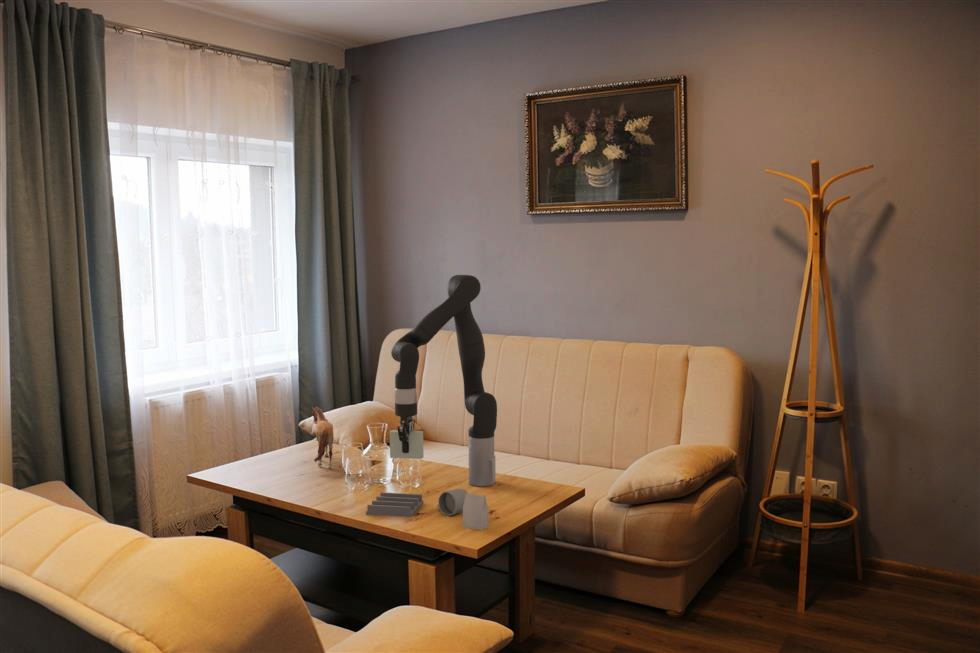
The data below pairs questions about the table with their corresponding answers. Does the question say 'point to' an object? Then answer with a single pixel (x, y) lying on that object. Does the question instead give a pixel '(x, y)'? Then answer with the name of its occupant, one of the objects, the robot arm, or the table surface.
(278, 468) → the table surface
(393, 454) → the green tile
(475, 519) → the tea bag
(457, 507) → the ceramic mug
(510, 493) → the table surface
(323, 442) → the horse figurine
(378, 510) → the slot rack
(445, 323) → the robot arm
